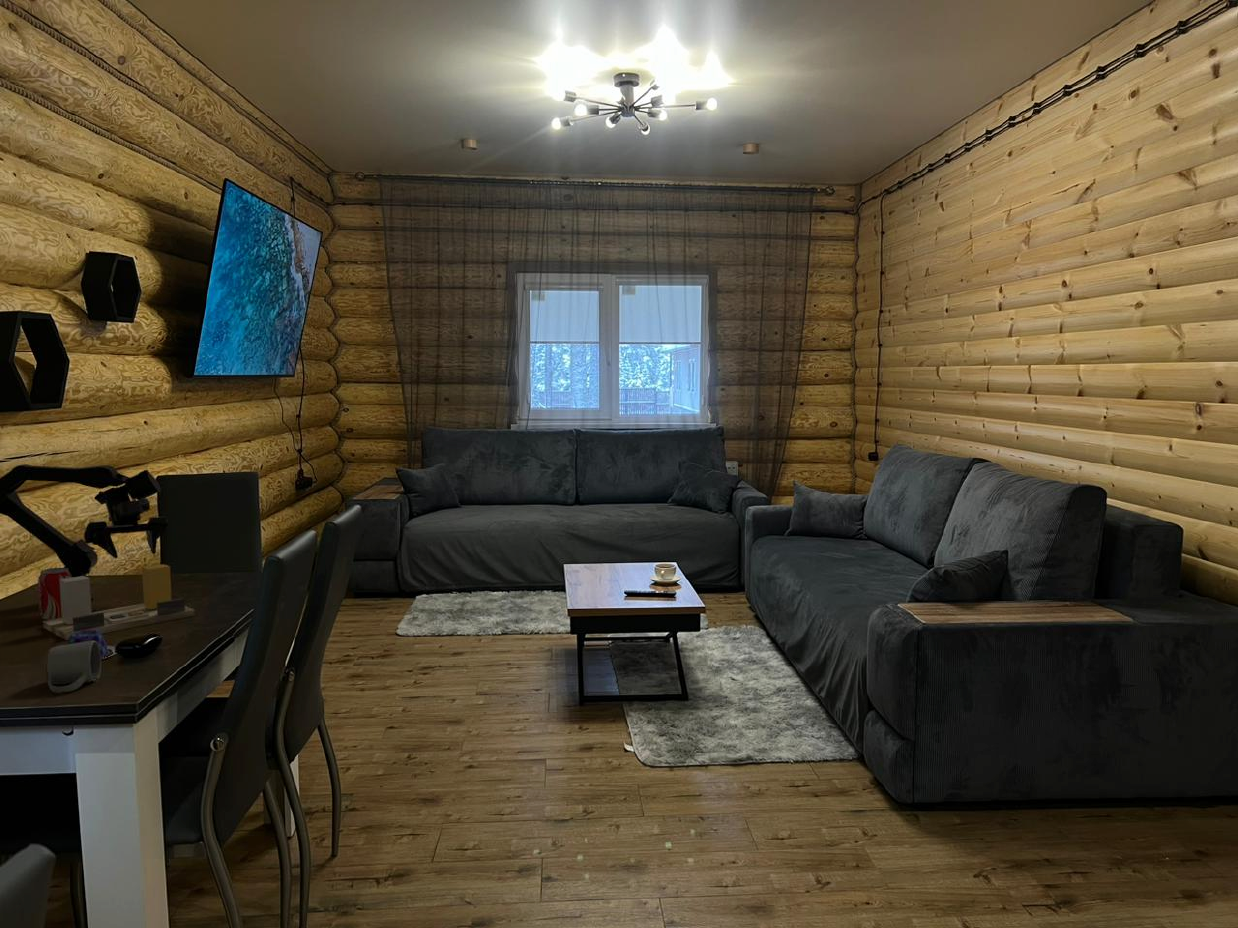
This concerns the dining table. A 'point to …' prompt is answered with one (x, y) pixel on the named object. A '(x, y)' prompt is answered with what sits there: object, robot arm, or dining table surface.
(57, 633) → the key board
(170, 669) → the dining table surface
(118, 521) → the robot arm
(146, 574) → the large amber box
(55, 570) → the soda can
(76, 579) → the white tall rectangular block
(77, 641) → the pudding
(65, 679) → the ceramic mug
